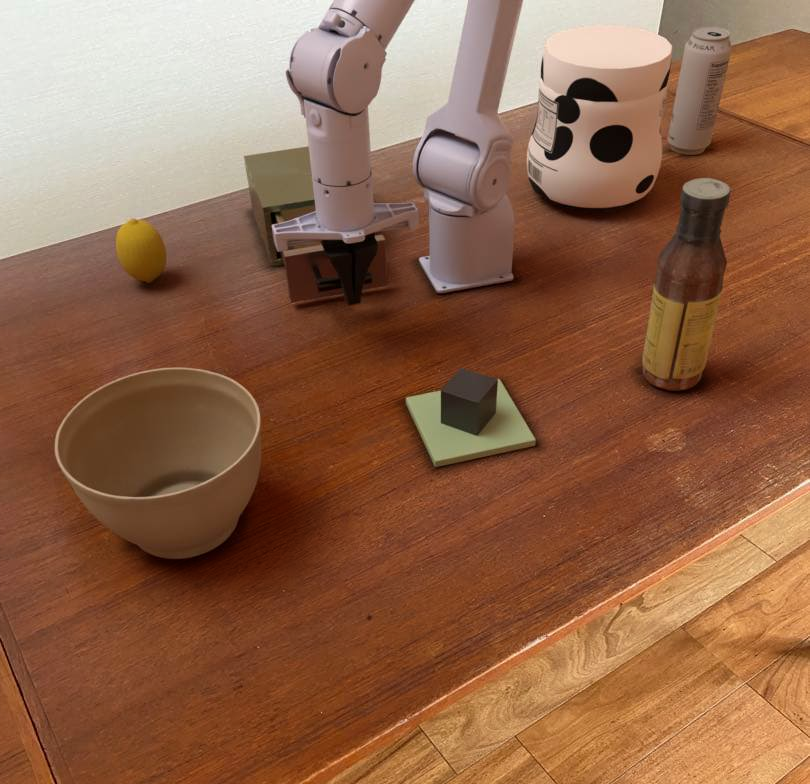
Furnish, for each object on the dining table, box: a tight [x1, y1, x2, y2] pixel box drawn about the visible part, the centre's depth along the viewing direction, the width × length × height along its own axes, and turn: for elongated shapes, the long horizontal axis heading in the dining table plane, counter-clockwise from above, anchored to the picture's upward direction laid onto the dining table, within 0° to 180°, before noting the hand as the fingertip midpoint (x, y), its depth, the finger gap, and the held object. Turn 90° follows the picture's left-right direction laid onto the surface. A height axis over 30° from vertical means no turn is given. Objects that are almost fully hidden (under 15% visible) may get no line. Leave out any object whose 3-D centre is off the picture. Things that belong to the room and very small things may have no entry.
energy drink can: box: [667, 26, 733, 156], centre depth 120 cm, size 6×6×15 cm
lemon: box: [115, 217, 167, 284], centre depth 101 cm, size 6×6×8 cm
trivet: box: [405, 378, 537, 468], centre depth 84 cm, size 10×10×1 cm
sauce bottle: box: [641, 177, 731, 392], centre depth 82 cm, size 7×6×20 cm
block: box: [440, 367, 498, 436], centre depth 83 cm, size 4×4×4 cm
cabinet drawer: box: [272, 206, 388, 303], centre depth 101 cm, size 18×11×6 cm, turn 16°
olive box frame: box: [243, 145, 315, 267], centre depth 109 cm, size 15×13×8 cm
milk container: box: [526, 24, 673, 212], centre depth 110 cm, size 17×17×18 cm
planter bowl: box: [54, 367, 262, 560], centre depth 73 cm, size 16×16×11 cm
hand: (352, 299), depth 92 cm, fingers closed
